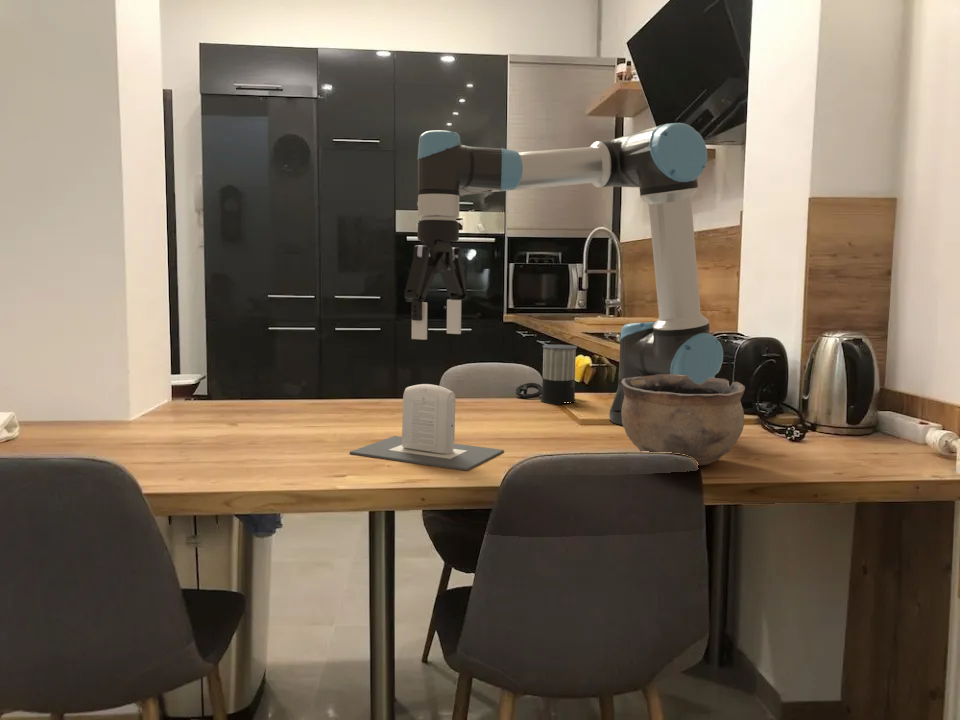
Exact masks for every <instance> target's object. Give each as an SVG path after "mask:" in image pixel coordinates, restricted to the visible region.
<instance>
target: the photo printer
mask: <svg viewBox="0 0 960 720" xmlns="http://www.w3.org/2000/svg"><path fill="white" fill-rule="evenodd" d="M456 399H457V398H456V395H455V393H454V391H452V390H450V389H448V388H446V387H444V386H440V385H436V384H430V383H421V384H415V385H414V384H413V385H411V386H407V387H405V389H404V391H403V396H402V425H401V426H402V429H401V431H402V432H401V437H402V447H403V448H409V449H415V450H422V451H429V452H435V453H441V454H450V453H452V452H453V449H454V444H455V432H456V431H455V430H456V428H455V427H456V403H457V402H456Z"/></svg>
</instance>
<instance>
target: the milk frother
mask: <svg viewBox="0 0 960 720" xmlns="http://www.w3.org/2000/svg"><path fill="white" fill-rule="evenodd" d="M542 348H543V353H542V356H543V357H542V360H543V361H542V384H539V383H536V382H527V383H524V384H520V385H518V386H517V387H516V389H515V394H516V396H518V397H521V398H524V399H525V398H526V399H533V398H534V399H535V398H537V397H540V396H541V398H540V401H541V402H543V403H546V404H554V405H562V404H561V403H564V402H566V403H567V402H569V403H570V402H574V401H575V402H576V399H575V398H576V393H575V391H576V390H575V389H576V388H575V385H576V384H575V383H576V360H577V359H576V354H577V351H576V350H577V348H578V347H577V346H575V345H570V344H544V345H542ZM531 388H533V389H535V390H537V392H534V393H528V389H531ZM575 402H574V403H575ZM570 404H571V403H570Z"/></svg>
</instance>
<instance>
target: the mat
mask: <svg viewBox="0 0 960 720" xmlns="http://www.w3.org/2000/svg"><path fill="white" fill-rule="evenodd" d="M504 452H505V450H504V449H500V448H493V447H491V448H490V447H484V446H478V445H475V446H474V445H468V444H462V443H454V449H453V452H452V453H450V454H441V453H435V452H429V451H422V450H415V449H409V448H403V447H402V436H398V435H393V436H391V437H388V438H384V439H382V440H380V441H376V442H374V443H371V444H368V445H365V446H362V447H359V448H357V449H353V450H351V451H349V454H350V455H356V456H361V457H362V456H363V457H367V458H368V457H369V458H376V459H383V460H390V461H397V462H404V463H413V464H417V465H423V466H431V467H439V468H446V469H451V470H453V469H454V470H457V471H458V470H459V471H469V470H472V469H473V468H475V467H478V466H479V465H481V464H483V463H485V462H487V461H489V460H491V459H493V458H496V457H497V456H498V455H501V454H503V453H504Z"/></svg>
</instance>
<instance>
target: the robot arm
mask: <svg viewBox="0 0 960 720" xmlns="http://www.w3.org/2000/svg"><path fill="white" fill-rule="evenodd" d="M417 146H418V148H417V158H416V160H417V195H418V196H417V203H416V206H417V216H418V217H419V218H420V220H418V222H417V240H418V241H419V242H424V243H423V245H419V244H418V245H414V247H413V257H412V258H413V259H412V262H411V265H410V270H409V273H408V277H407V283H406V286H405V290H404V294H403V295H404V299H405V301H406V302H408V303H411V340H423V341H424V340H428V302H425V300H426V297H427V295H428V293H429V291H430V288H431V285H432V282H433V280H434V278H435V276H436V275H437V274H440V277H441V280H442V281H443V284H444V287H445V289H446V291H447V294H448V297H449V299H447V300H446V334H447V335H448V334H451V335H461V334H462V300H463V301H464V300H465V301H466V300H467V298H468V288H467V284H466V278H465V274H464V269H463V264H462V258H461V248H460V247H453V245H452V243H457V242H459V239H460V234H459V233H460V223H459V221H458V220H457V219H459V218H460V197H465V196H467V195H477V194H485V193H486V194H487V193H495V192H506V191H518V190H530V189H539V188H552V187H562V186H563V187H564V186H573V185H587V184H592V186H594V187H596V188H607V187H615V188H638V189H639V196H640V198H641V199H642V200H644V202H646V203H647V204H648V211H649V212H648V213H649V222H650V225H649V226H650V231H651V232H650V233H651V242H652V243H651V245H652V246H651V247H652V255H653V265H654V277H655V287H656V299H657V309H658V318H657V320H656V321H651V322H650V321H647V322H630V323H626V324H624V325H623V326H622V327H621V331H620V337H619V361H618V362H619V364H618V387H617V390H616V393H615V395H614V398H613V400H612V403H611V406H610V409H609V415H608V416H609V417H610V419H611V421H610V422H611V423H613V424H617V425H621V426H623V424H622V415H621V411H622V404H623V400H624V392H623V387H622V383H621V381H622V379H627V378H631V377H643V376H652V375H657V374H675V375H688V376H689V378H690V379H691V380H692V381H693V382H695V383H697V384H702V383H703V382H705V381H706V380H707V378H712V377H713V378H716V377H715V376H716V375H717V374H719V373H720V371H721V368H722V365H723V361H724V349H723V346H722V343H721V341H720V340H718V339H717V337H716V336H714V335H713V334H711V331H710V320H709V319H708V318H707V317H706V316H704V315H703V314H702V313H701V312H702V310H701V302H700V301H701V300H700V298H701V297H700V289H699V276H698V275H699V274H698V266H697V265H698V263H697V255H696V254H697V252H696V242H695V241H696V240H695V230H694V229H695V228H694V216H693V215H694V214H693V207H692V206H693V205H692V198H693V197H694V195H695V194H696V192H697V191H698V190H699V184H698V178H700V176H702V174H703V173H704V169H706V167H707V163H708V149H707V145H706V142H705V140H704V138H703V136H702V135H701V133H700V132H698V131H697V130H696V129H695V128H694V127H692V126H691V125H689V124H687V123H683V122H673V123H672V122H670V123H665V124H664V123H663V124H660V125H658V126H654V127H650V128H647V129H644V130H639V131H635V132H633V133H632V132H631V133H629V134H627V135H623V136H619V137H617V138H614V139H609V140H602V141H594V142H593V143H592V144H591V145H590V146H588V147H587V146H586V147H575V148H562V149H558V148H557V149H548V150H545V149H544V150H532V151H521V152H519V151H516V150H513V149H508V148H507V149H506V148H504V147H501V148H497V147H481V146H471V145H470V146H468V145H464V144H462V142H461V135H460V134H459V133H458V132H455V131H450V130H439V129H438V130H436V129H435V130H428V131H425V132H423V133H421V134H420V135H419V137H418V145H417ZM609 417H608V418H609Z"/></svg>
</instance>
